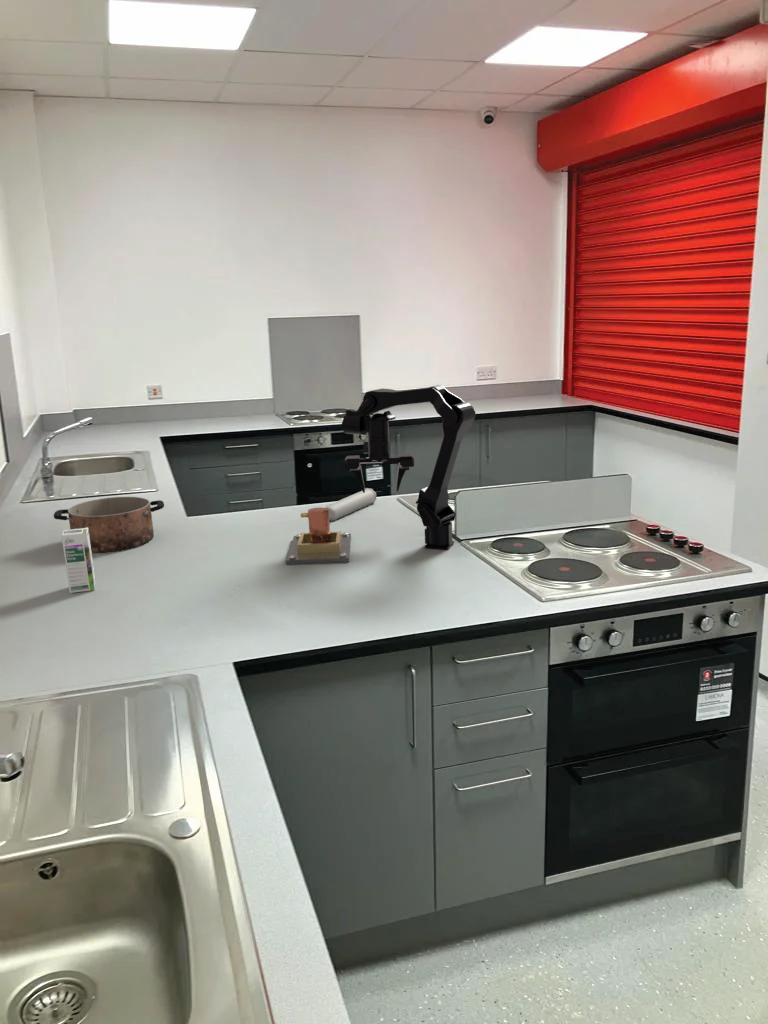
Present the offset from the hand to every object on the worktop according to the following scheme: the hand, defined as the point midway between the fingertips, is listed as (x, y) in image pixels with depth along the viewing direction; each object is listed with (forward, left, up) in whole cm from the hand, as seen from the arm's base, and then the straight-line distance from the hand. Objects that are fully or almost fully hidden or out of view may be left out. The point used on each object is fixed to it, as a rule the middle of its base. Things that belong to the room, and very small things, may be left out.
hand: (380, 491), depth 227 cm
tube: (+20, -23, -14) cm, 34 cm away
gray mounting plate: (+12, +16, -13) cm, 24 cm away
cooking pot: (+74, +23, -13) cm, 79 cm away
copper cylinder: (+13, +16, -12) cm, 24 cm away
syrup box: (+55, +58, -13) cm, 81 cm away
